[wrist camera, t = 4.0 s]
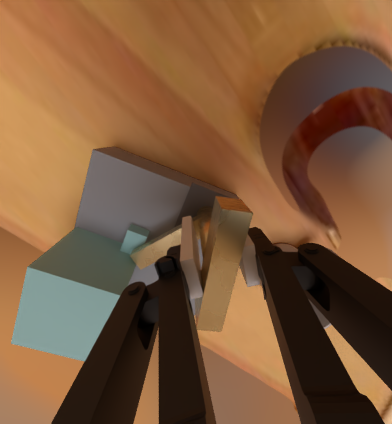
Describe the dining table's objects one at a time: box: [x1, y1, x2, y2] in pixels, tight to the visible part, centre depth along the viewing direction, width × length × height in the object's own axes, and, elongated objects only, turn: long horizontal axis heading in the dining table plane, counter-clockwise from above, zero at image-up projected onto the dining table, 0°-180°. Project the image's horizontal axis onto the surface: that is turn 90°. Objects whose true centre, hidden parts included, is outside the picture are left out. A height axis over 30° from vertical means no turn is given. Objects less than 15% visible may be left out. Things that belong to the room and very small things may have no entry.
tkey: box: [130, 196, 253, 332], centre depth 16 cm, size 10×8×10 cm
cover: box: [11, 224, 150, 361], centre depth 19 cm, size 10×7×7 cm, turn 156°
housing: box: [74, 147, 239, 315], centre depth 25 cm, size 16×16×6 cm
